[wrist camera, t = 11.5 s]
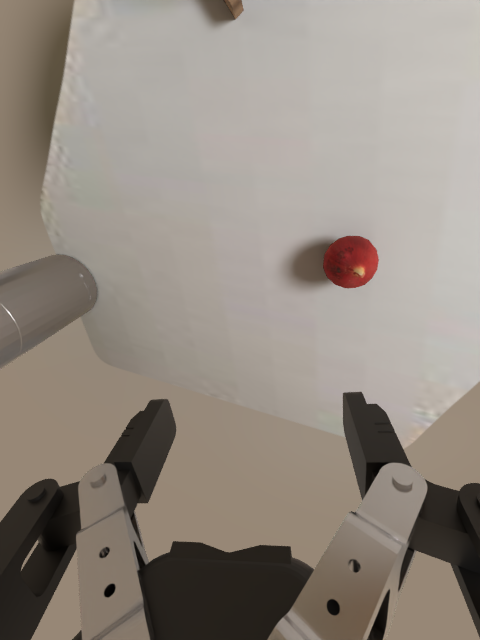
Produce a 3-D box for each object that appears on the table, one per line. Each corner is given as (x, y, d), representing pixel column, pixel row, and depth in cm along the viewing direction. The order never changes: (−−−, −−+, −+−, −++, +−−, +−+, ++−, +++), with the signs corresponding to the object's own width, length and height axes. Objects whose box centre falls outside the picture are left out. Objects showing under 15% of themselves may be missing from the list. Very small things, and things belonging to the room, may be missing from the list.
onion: (318, 277, 39) (326, 298, 32) (322, 231, 36) (332, 243, 29) (364, 277, 38) (384, 300, 31) (372, 231, 36) (395, 243, 28)
